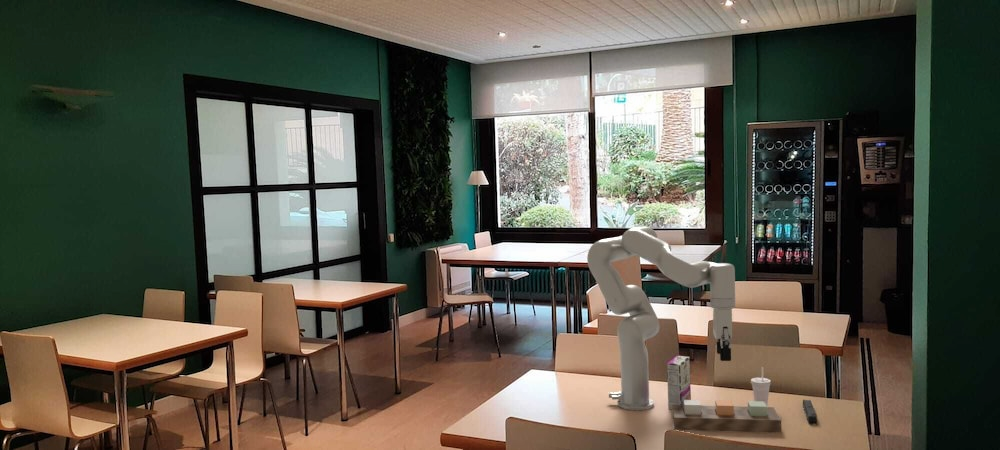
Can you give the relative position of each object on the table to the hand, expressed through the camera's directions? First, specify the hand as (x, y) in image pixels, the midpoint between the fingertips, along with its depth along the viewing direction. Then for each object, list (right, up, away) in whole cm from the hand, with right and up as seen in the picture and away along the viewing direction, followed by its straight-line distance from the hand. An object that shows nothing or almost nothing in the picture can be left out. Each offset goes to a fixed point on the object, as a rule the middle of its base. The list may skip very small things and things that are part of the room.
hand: (723, 356), depth 222 cm
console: (+1, -22, +2) cm, 22 cm away
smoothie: (+18, -21, +16) cm, 31 cm away
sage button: (+11, -19, -1) cm, 22 cm away
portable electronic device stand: (+30, -21, +7) cm, 38 cm away
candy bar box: (-9, -21, +21) cm, 31 cm away
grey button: (-9, -19, +3) cm, 22 cm away
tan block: (+1, -19, +1) cm, 19 cm away
